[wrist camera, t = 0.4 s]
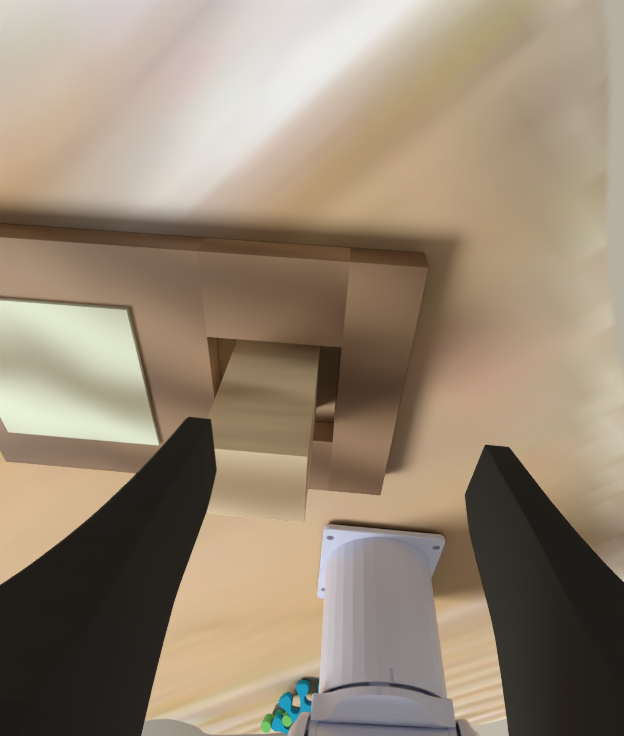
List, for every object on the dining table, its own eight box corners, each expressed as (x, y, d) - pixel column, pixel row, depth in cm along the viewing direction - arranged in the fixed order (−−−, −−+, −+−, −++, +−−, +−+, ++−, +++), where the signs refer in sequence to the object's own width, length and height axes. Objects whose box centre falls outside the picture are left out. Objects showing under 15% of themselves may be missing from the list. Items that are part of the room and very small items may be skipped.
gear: (373, 697, 44) (362, 809, 43) (376, 667, 50) (367, 765, 49) (266, 671, 47) (253, 777, 45) (280, 645, 52) (269, 738, 51)
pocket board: (379, 475, 27) (380, 498, 26) (20, 443, 28) (4, 464, 26) (424, 252, 18) (429, 270, 17) (-96, 216, 19) (-128, 230, 18)
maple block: (316, 407, 24) (303, 522, 19) (241, 401, 24) (207, 513, 19) (320, 345, 22) (307, 456, 16) (237, 339, 22) (196, 447, 16)
